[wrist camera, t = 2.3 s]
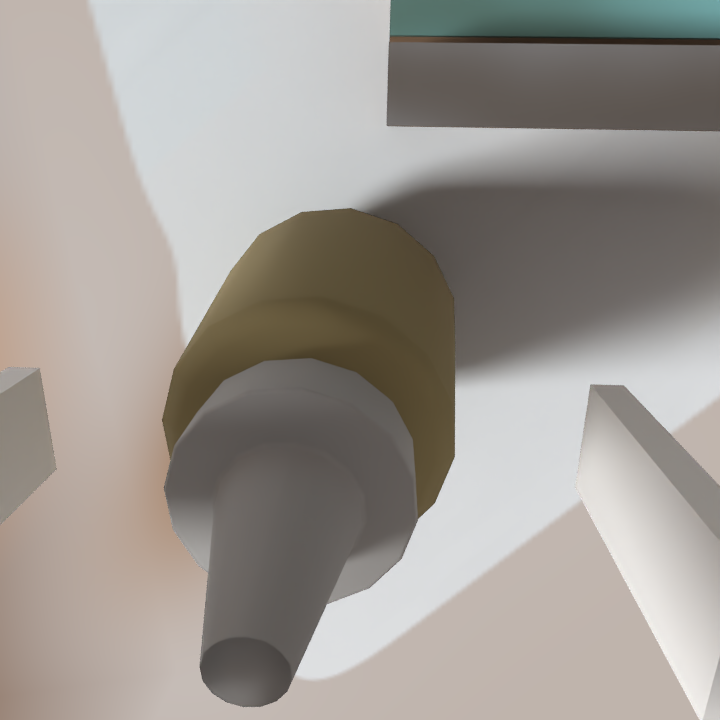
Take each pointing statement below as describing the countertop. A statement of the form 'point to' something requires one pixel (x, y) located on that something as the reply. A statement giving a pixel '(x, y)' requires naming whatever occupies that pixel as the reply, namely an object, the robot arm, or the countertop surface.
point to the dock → (555, 64)
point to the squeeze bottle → (307, 434)
